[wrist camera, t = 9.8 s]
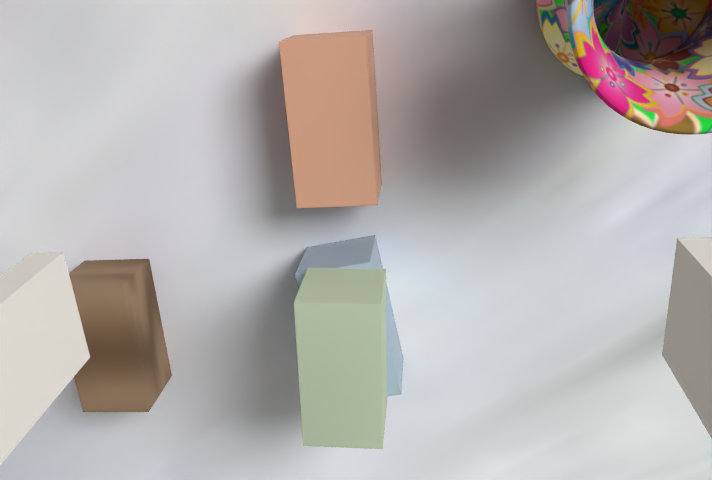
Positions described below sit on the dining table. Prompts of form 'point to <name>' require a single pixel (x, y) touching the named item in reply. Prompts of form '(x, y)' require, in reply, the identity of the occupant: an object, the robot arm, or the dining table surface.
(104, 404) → the walnut brick
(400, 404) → the dining table surface
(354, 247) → the blue brick
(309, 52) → the terracotta brick
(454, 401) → the dining table surface
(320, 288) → the sage brick
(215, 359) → the dining table surface
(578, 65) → the mug
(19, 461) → the dining table surface
